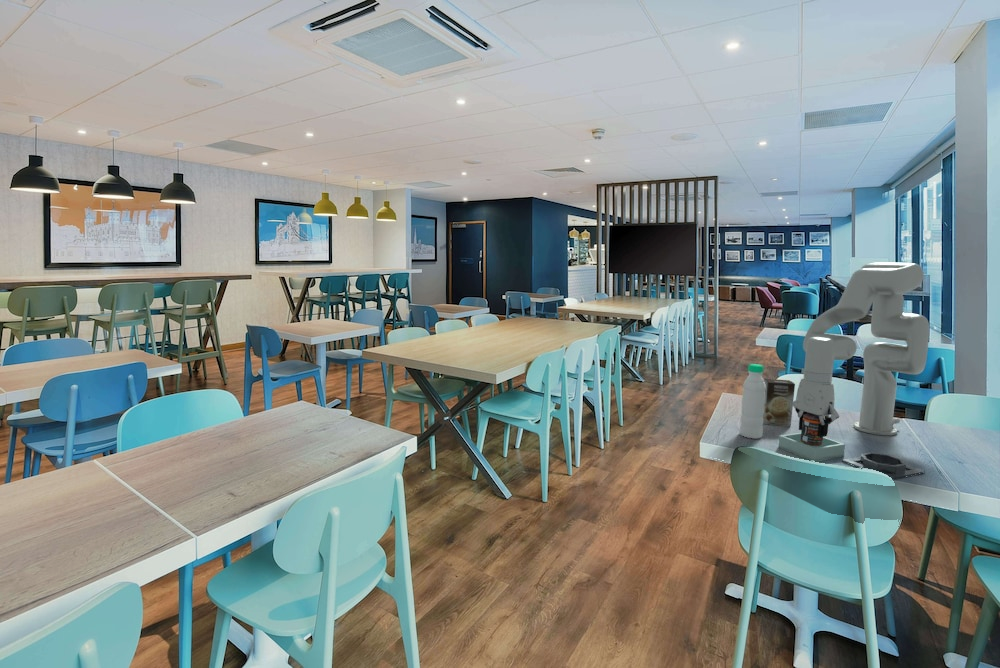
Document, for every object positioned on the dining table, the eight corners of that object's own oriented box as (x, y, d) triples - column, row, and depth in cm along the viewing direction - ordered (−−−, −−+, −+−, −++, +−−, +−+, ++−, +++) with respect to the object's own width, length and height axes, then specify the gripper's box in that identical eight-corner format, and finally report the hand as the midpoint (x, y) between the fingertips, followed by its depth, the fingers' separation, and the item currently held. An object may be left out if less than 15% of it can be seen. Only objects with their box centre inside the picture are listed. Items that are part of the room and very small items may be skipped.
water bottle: (764, 440, 174) (770, 367, 170) (742, 438, 175) (747, 366, 172) (758, 433, 181) (764, 363, 177) (737, 431, 182) (742, 362, 178)
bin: (807, 443, 171) (808, 431, 171) (843, 456, 159) (845, 444, 159) (778, 447, 167) (779, 435, 166) (813, 461, 155) (815, 449, 155)
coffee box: (764, 424, 190) (767, 382, 188) (759, 419, 196) (763, 378, 194) (791, 426, 188) (795, 383, 186) (786, 421, 194) (789, 379, 192)
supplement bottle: (806, 446, 160) (809, 411, 159) (796, 439, 166) (799, 405, 164) (826, 447, 160) (829, 411, 158) (816, 440, 165) (819, 406, 164)
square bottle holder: (874, 455, 160) (875, 448, 160) (924, 473, 147) (925, 465, 147) (842, 461, 155) (842, 453, 155) (890, 480, 142) (891, 471, 142)
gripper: (784, 372, 166) (780, 425, 169) (835, 384, 150) (829, 443, 153) (802, 370, 169) (797, 423, 172) (853, 382, 153) (847, 440, 156)
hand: (812, 432), depth 162 cm, fingers closed on supplement bottle, 6 cm apart
